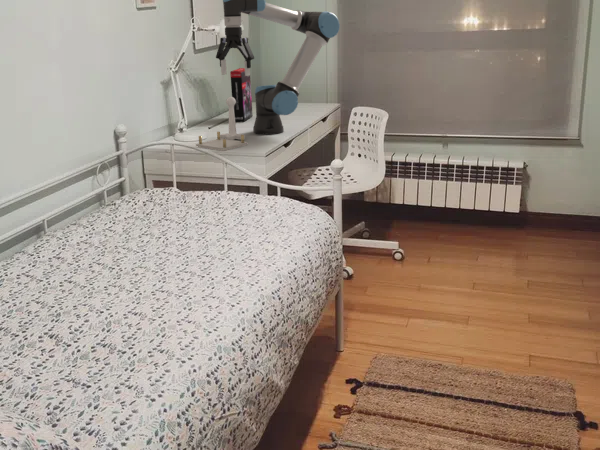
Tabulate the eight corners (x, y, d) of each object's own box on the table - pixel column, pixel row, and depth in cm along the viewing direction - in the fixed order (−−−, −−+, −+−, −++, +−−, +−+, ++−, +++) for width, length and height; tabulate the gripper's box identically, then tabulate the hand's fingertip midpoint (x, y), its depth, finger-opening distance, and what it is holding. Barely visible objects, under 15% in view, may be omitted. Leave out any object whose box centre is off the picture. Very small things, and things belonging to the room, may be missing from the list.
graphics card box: (244, 122, 374) (242, 71, 366) (232, 122, 376) (229, 71, 367) (252, 117, 390) (250, 67, 382) (241, 117, 392) (238, 67, 383)
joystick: (245, 138, 330) (243, 96, 324) (239, 141, 324) (237, 98, 317) (224, 137, 334) (221, 96, 328) (217, 140, 327) (215, 98, 321)
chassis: (220, 140, 326) (219, 131, 325) (247, 144, 317) (247, 134, 315) (196, 146, 314) (195, 136, 313) (223, 150, 304) (222, 140, 303)
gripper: (206, 26, 312) (209, 74, 319) (250, 27, 299) (252, 76, 305) (216, 26, 318) (219, 73, 324) (260, 26, 304) (262, 75, 311)
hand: (235, 75), depth 315 cm, fingers open, 13 cm apart
